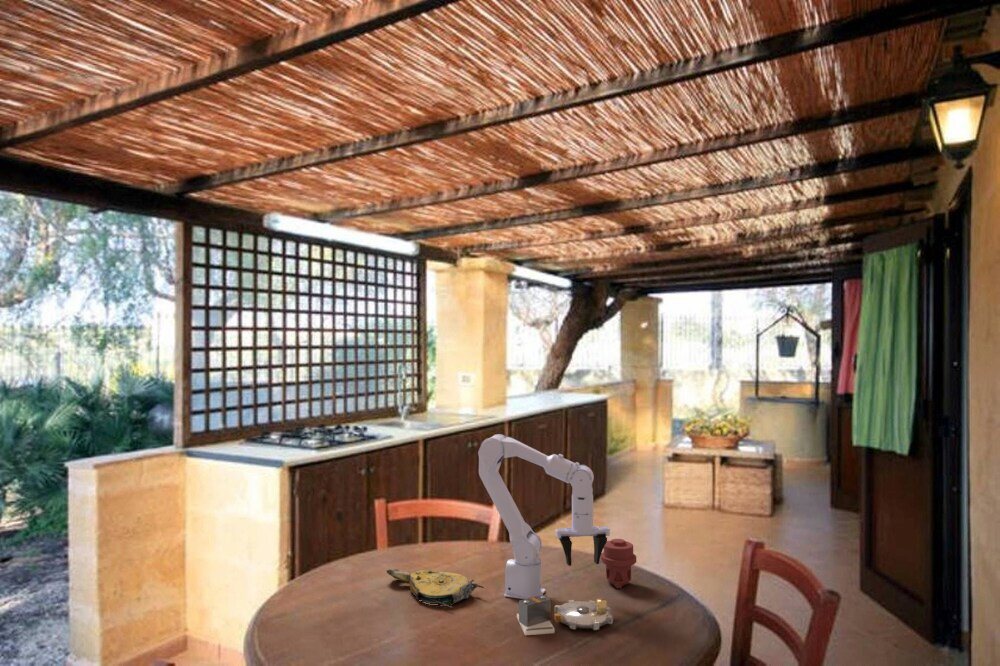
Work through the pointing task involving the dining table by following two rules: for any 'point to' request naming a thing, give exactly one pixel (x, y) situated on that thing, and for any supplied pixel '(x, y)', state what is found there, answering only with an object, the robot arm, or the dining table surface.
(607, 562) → the mechanical component
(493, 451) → the robot arm
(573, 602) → the sprocket wheel
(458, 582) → the tan irregular slab
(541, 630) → the guide plate
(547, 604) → the striped block with rivets
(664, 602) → the dining table surface
